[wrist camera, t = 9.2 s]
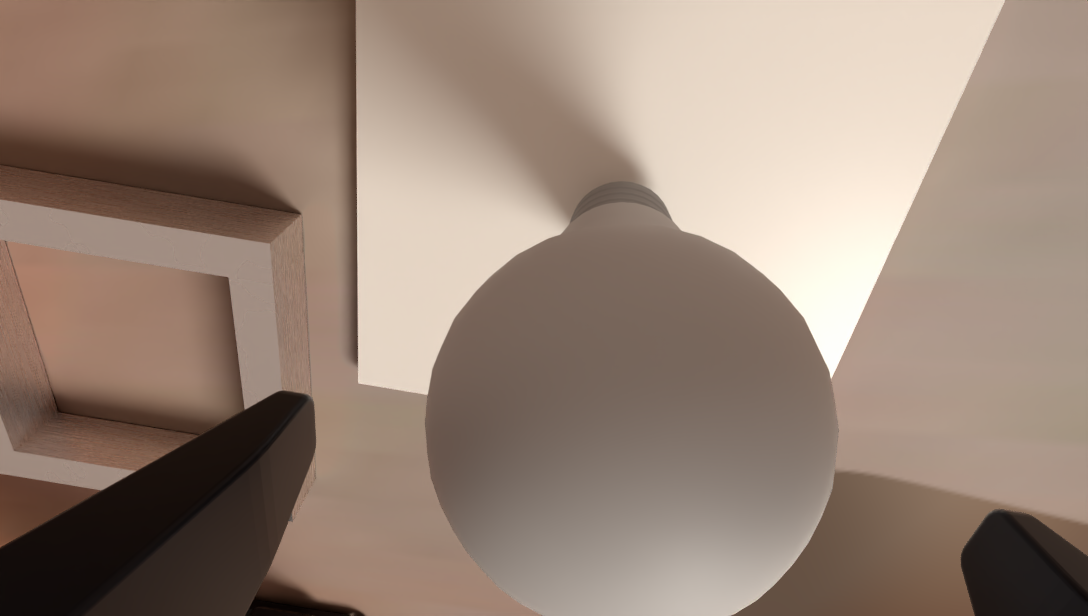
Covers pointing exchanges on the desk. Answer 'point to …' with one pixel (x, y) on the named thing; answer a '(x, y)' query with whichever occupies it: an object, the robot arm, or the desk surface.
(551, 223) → the mat
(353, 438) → the desk surface
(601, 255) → the lightbulb
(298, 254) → the grey flat square frame
